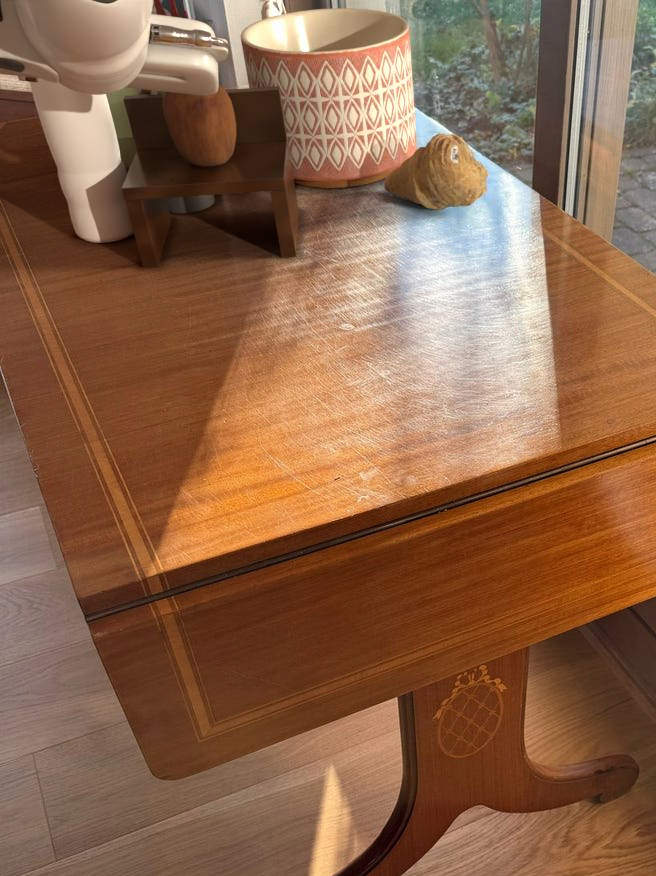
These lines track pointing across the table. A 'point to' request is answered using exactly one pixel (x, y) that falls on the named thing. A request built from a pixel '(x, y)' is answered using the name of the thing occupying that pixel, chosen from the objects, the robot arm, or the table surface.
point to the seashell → (440, 175)
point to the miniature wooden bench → (208, 168)
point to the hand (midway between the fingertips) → (88, 77)
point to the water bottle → (85, 159)
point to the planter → (338, 91)
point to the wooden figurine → (199, 120)
